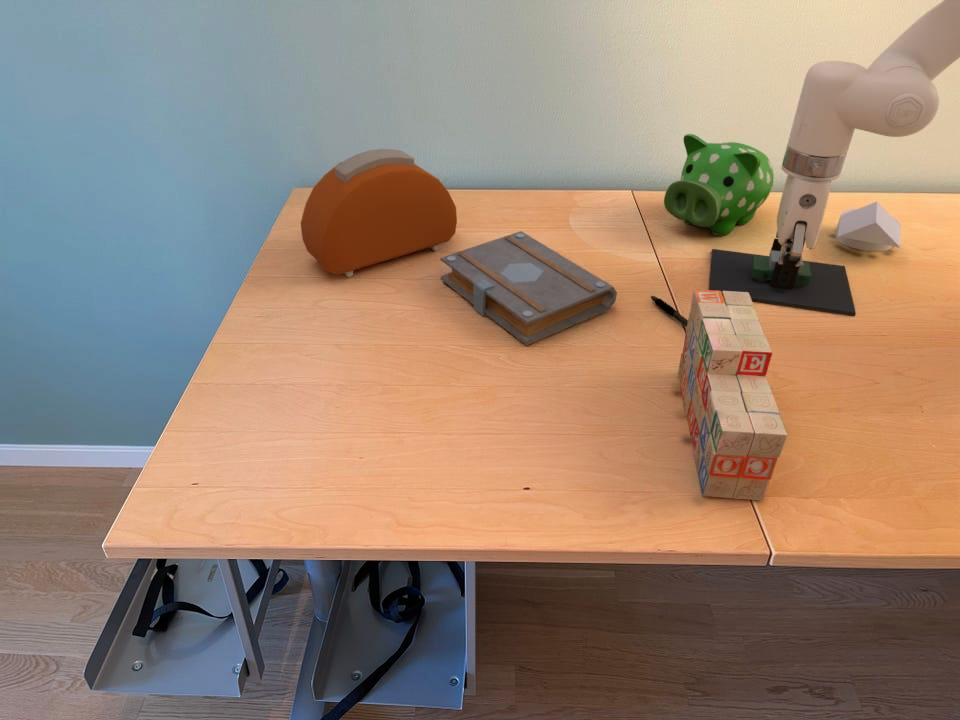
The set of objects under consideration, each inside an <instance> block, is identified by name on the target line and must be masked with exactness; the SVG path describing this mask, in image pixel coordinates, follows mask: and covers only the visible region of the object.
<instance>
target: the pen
mask: <svg viewBox="0 0 960 720" xmlns="http://www.w3.org/2000/svg"><path fill="white" fill-rule="evenodd" d="M650 299H651V301H652V302H653V303H654V304H655V306H657V307H658V308H659V309H661V310H662V311H663V312H664V313H666V315H668V316H670V317H671V318H673V319H675V320H676V321H677V322H678V323H680V324H681V325H682V326H684V327H685V328H687V323H688V318H686V317H684V316H683V315H682V314H680V313H679V311H678V310H677V309H675V308H674V307H673V306H671V304H668V303H667V302H665V301H664V300H663V299H662V298H659V297H658V296H655V295H650Z"/></svg>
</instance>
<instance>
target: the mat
mask: <svg viewBox="0 0 960 720" xmlns="http://www.w3.org/2000/svg"><path fill="white" fill-rule="evenodd" d="M753 255H755V256H763V257H769V255H763V254H756V253H747V252H740V251H734V250H724V249H718V248H712V249H711V255H710V265H709V266H710V268H709V279H708V280H709V281H708V290H712V291H721V292H722V291H734V292H748V293H749V295H750V297H751V300H752V302H753V303H763V304H768V305H776V306H783V307H790V308H797V309H802V310H810V311H817V312H825V313H831V314H837V315H845V316H852V317H855V316H856V313H857V312H856V308H855V304H854V298H853V296H852V295H853V294H852V291H851V286H850V281H849V277H848V273H847V270H846V266H845V265H840V264H834V263H827V262H817V261H810V260H803V262H809V267H810V272H811V278H810V282H809V285H804V286H803V287H800V288H796V287H793V289H792V290H787V289H780V288H773V287H770V281H771V280H767V281H766V282H764V283H759V282H757V281H756V280H755V278H751V262H752V258H753Z"/></svg>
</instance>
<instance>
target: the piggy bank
mask: <svg viewBox="0 0 960 720" xmlns="http://www.w3.org/2000/svg"><path fill="white" fill-rule="evenodd" d="M682 141H683V144H684V148H685V151H686V152H685V153H686V158H685V162H684V164H683V167H682V171H681V175H680V180H676V181H674V182H671V184H670V185H669V186H668V187H667V188H666V191H665V193H664V197H663V206H664V208H665V210H666V211H667V212H668V213H669V214H670V215H671V216H672V217H674V218H676V219H678V220H680V221H683V222H684V223H685V224H688V225H690V226H696V227H700V228H709V229H710V230H711V233H712V234H713V235H716V236H719V237H724V236H727V235H729V234H731V232H733V231H734V229H735V226H736V225H737V226H738V225H739V226H743V225H746V224H748V223H749V222H750V221H751V220H752V219H753V218H754V217H755V214H756V212H757V210H758V209H759V208H760V207H761V206H762V205H763V204H764V203H765V201H767V199H768V197H769V196H770V193H771V192H772V189H773V186H774V178H775V177H774V171H773V170H774V169H773V166H772V164H771V161H770V159H769V157H768V156H767V154H765V153H764V152H762V151H761V150H759V149H757V148H755V147H753V146H752V145H748V144H744V143H741V142H733V141H732V142H731V141H728V142H727V141H726V142H706V141H705V140H704V139H702V138H700V137H699V136H698V135H696V134H693V133H688V134H685V135H683V140H682Z"/></svg>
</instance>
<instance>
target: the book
mask: <svg viewBox="0 0 960 720" xmlns="http://www.w3.org/2000/svg"><path fill="white" fill-rule="evenodd" d="M439 261H440V262H442V263H444V264H445V265H446V266H447V267H449V268H450V269H451V272H449V273H446V274H442V275H440V280H441V281H442V282H444V283H445V284H446V285H448V286H449V287H450V288H451V289H453V290H454V291H455V292H456V293H458V294H459V295H460V296H462V297H463V298H465V299H466V300H467V301H468V302H469V303H471V304H472V305H473V310H475V311H476V312H477V313H478V314H480V315H481V316H482V317H484V318H485V317H487V316H488V317H489V318H490V319H492V320H493V321H494V322H495V323H497V324H498V325H499V326H501V327H502V328H503V329H504V330H506V331H507V332H508V333H510V334H511V335H512V336H514V337H515V338H516V339H517V340H519V341H520V342H521V343H522V344H524V345H525V346H528V345H530V344H533V343H535V342H537V341H540V340H542V339H545V338H546V337H549V336H551V335H554V334H556V333H558V332H561V331H563V330H565V329H568V328H570V327H573V326H575V325H578V324H580V323H582V322H584V321H587V320H589V319H591V318H594V317H596V316H598V315H600V314H603V313H605V312H608V311H610V310H611V309H612V307H613V306H614V304H615V302H616V300H617V296H618V292H617V290H616V288H615V287H614V286H613V285H611V284H610V283H608V282H606V281H605V280H603V279H601V278H599V277H598V276H596V275H595V274H593V273H591V272H590V271H588V270H587V269H585V268H583V267H581V266H580V265H578V264H576V263H575V262H573V261H571V260H570V259H569V258H566V257H565V256H563V255H562V254H560V253H558V252H557V251H555V250H554V249H552V248H550V247H549V246H546V245H545V244H544V243H542V242H540V241H539V240H537V239H535V238H533V237H532V236H530V235H528V234H527V233H525V232H524V231H522V230H520V231H517V232H513V233H510V234H508V235H505V236H501V237H499V238H496V239H493V240H489V241H486V242H484V243H483V242H482V243H480V244H477V245H474V246H472V247H471V246H470V247H469V248H466V249H463V250H460V251H457V252H453V253H450V254H447V255H444V256H441V257H440V258H439Z"/></svg>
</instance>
